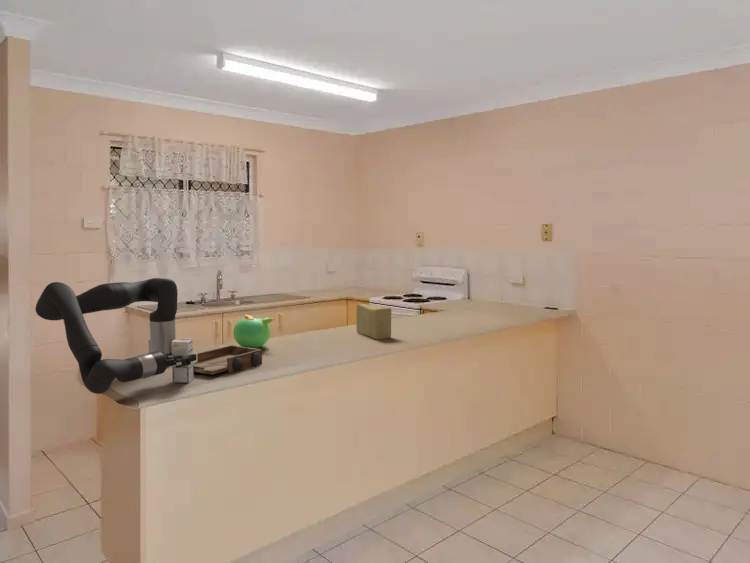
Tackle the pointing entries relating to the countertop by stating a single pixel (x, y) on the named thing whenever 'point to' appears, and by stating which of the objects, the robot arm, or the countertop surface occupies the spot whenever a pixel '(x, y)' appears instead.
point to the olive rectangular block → (373, 321)
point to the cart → (232, 357)
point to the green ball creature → (252, 331)
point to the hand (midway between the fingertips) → (187, 355)
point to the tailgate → (208, 368)
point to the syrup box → (178, 348)
